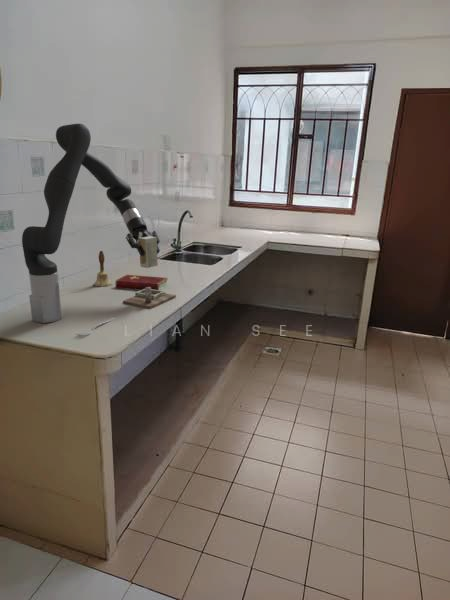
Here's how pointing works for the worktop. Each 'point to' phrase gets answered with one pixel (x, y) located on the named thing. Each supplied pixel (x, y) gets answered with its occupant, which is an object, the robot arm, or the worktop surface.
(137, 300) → the pin board
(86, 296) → the worktop surface
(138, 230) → the robot arm
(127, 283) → the hardcover book
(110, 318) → the fork
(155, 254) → the skincare box
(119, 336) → the worktop surface
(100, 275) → the hand bell
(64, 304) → the worktop surface
